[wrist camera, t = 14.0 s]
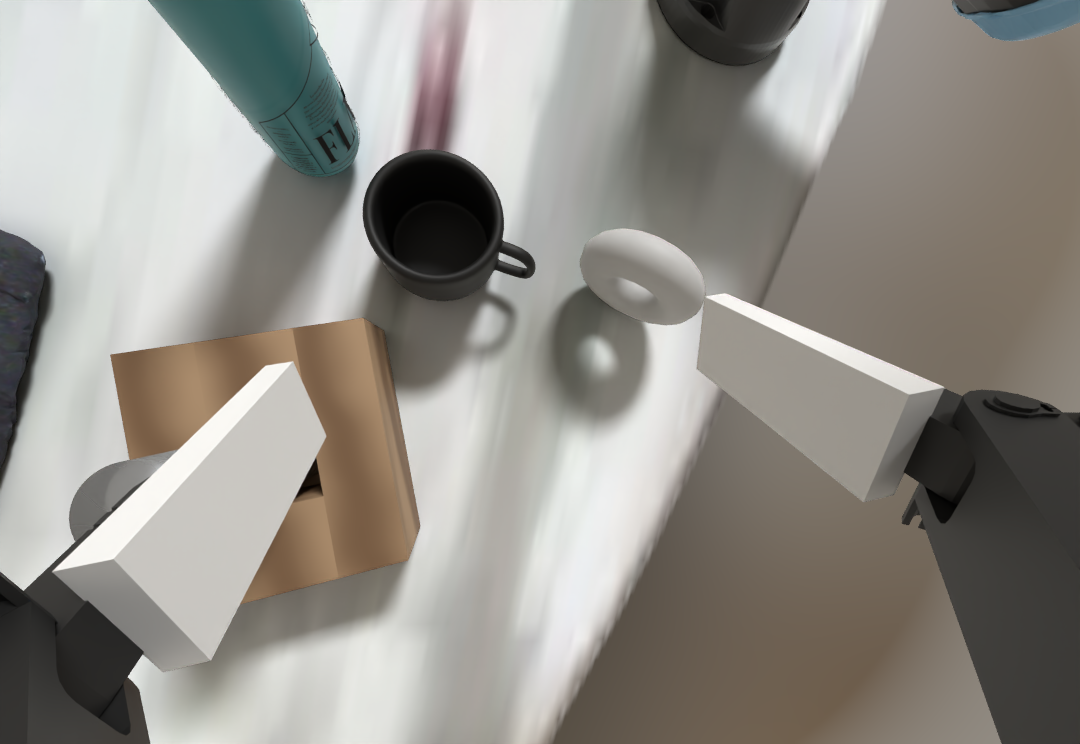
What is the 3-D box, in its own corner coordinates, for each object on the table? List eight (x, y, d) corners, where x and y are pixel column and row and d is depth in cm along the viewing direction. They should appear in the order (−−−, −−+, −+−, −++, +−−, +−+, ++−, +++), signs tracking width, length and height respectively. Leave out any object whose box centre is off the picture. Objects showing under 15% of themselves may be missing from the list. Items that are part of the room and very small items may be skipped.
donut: (559, 282, 33) (596, 238, 23) (577, 249, 34) (621, 193, 24) (651, 340, 35) (723, 322, 25) (668, 308, 35) (745, 278, 25)
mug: (369, 283, 30) (339, 253, 24) (407, 182, 31) (389, 124, 24) (511, 333, 32) (522, 319, 25) (543, 236, 33) (562, 197, 26)
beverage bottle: (351, 203, 30) (132, -130, 11) (264, 169, 29) (-154, -268, 10) (379, 130, 31) (222, -310, 11) (295, 95, 30) (-40, -459, 10)
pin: (326, 418, 29) (180, 450, 15) (336, 470, 28) (199, 552, 15) (269, 429, 28) (60, 473, 14) (279, 482, 28) (79, 579, 14)
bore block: (384, 330, 31) (363, 317, 25) (420, 526, 30) (408, 560, 25) (186, 361, 28) (110, 354, 22) (225, 574, 28) (160, 625, 22)
